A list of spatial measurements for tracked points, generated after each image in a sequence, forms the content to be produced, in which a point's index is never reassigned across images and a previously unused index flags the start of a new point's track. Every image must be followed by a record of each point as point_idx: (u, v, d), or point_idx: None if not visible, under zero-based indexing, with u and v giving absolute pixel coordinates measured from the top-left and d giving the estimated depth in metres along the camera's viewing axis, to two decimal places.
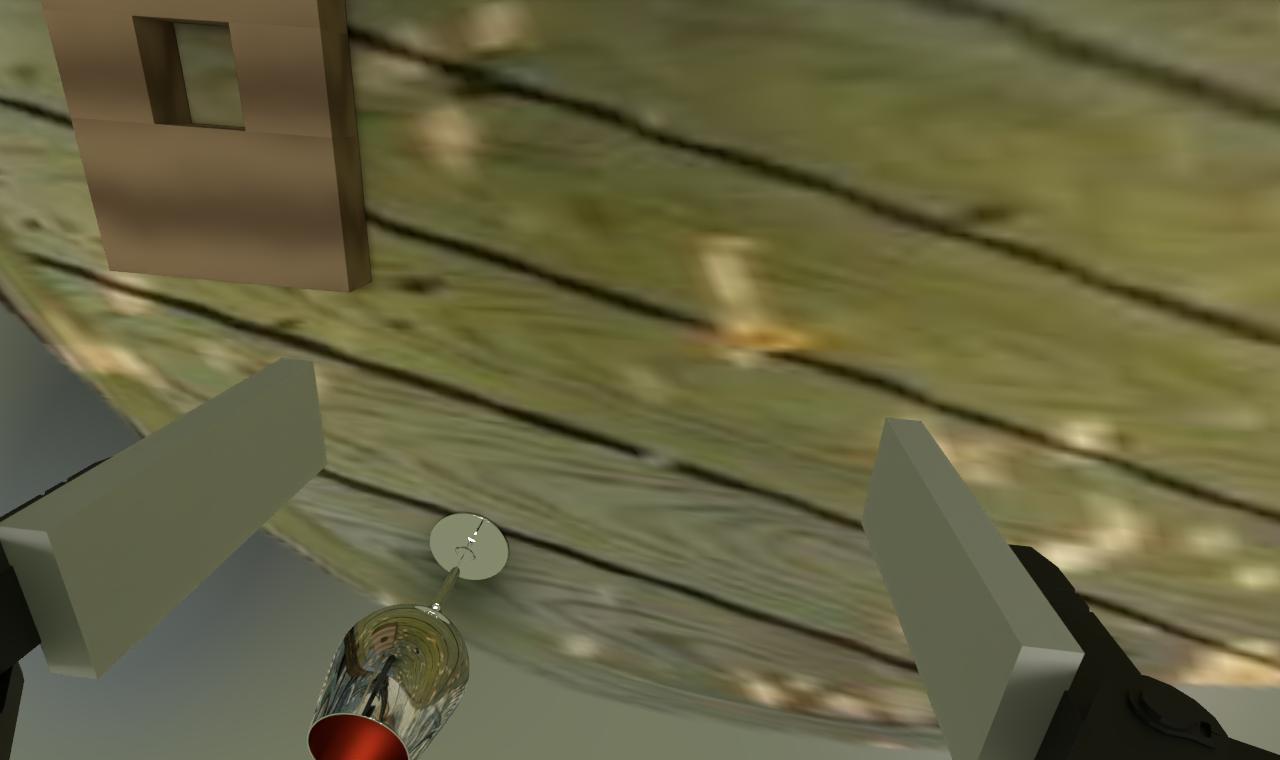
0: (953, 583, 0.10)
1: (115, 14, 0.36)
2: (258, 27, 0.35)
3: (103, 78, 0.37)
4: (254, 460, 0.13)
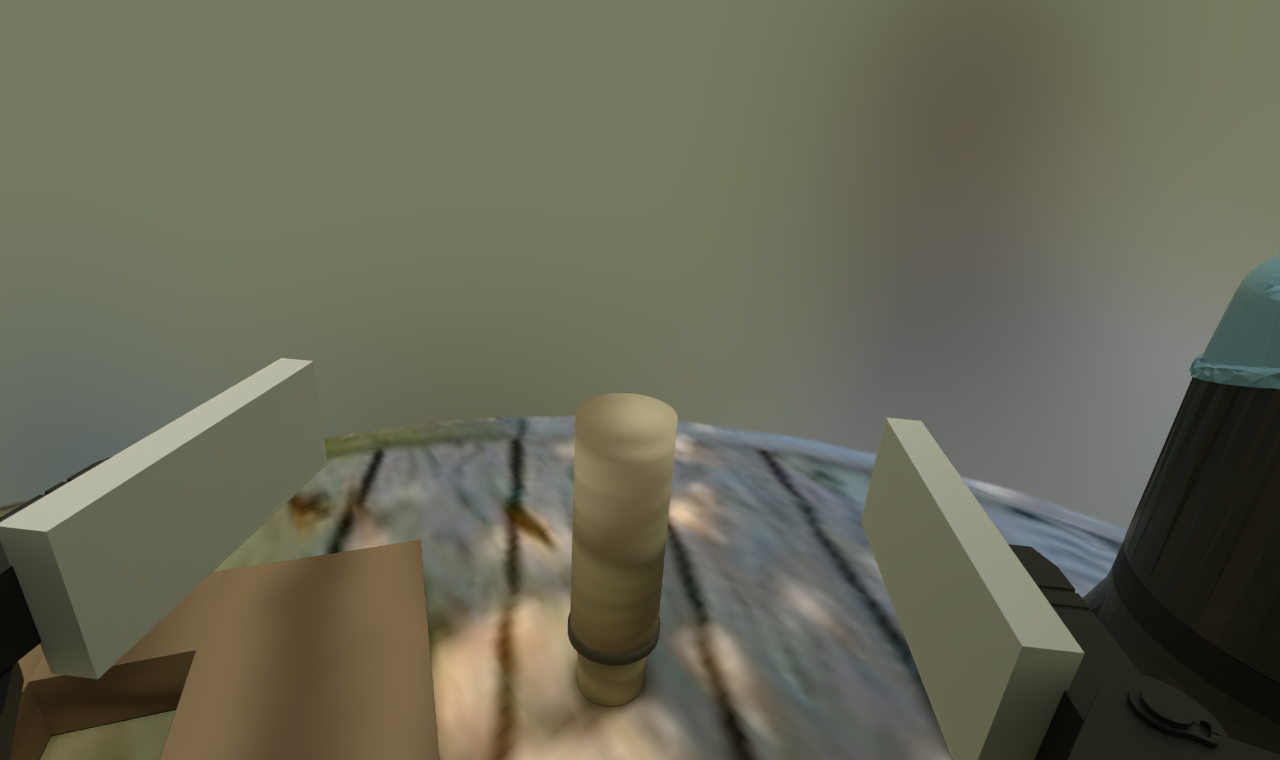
0: (953, 583, 0.10)
1: (201, 633, 0.28)
2: None
3: None
4: (254, 460, 0.13)
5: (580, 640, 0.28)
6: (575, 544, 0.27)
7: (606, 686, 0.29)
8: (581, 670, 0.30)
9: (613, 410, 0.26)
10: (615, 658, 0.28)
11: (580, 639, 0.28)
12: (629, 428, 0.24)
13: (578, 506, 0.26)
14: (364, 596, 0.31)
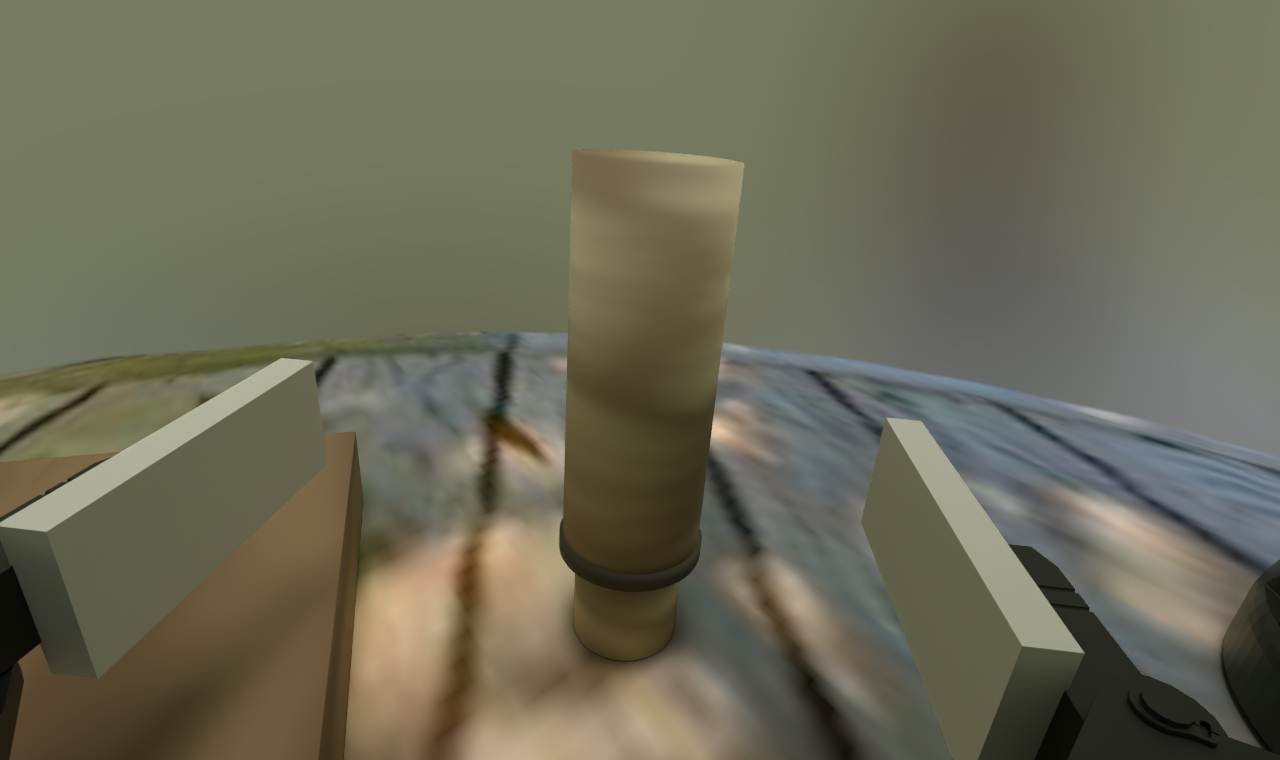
0: (953, 583, 0.10)
1: None
2: None
3: None
4: (254, 460, 0.13)
5: (578, 552, 0.18)
6: (571, 389, 0.17)
7: (618, 629, 0.19)
8: (579, 606, 0.19)
9: (635, 154, 0.15)
10: (633, 580, 0.17)
11: (577, 551, 0.18)
12: (665, 161, 0.14)
13: (576, 318, 0.16)
14: None
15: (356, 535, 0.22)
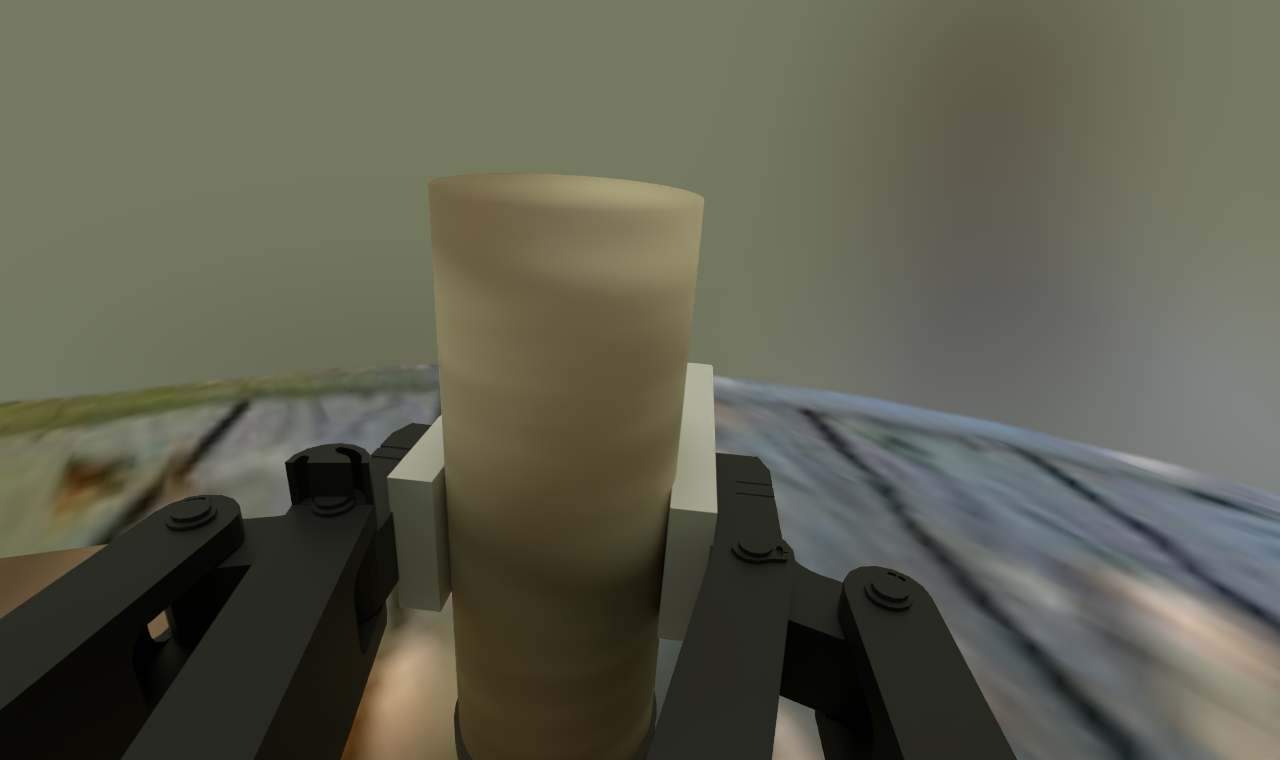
0: None
1: None
2: None
3: None
4: None
5: (473, 756, 0.12)
6: (449, 535, 0.11)
7: None
8: None
9: (536, 184, 0.10)
10: None
11: (472, 753, 0.12)
12: (571, 200, 0.08)
13: (447, 436, 0.10)
14: None
15: None
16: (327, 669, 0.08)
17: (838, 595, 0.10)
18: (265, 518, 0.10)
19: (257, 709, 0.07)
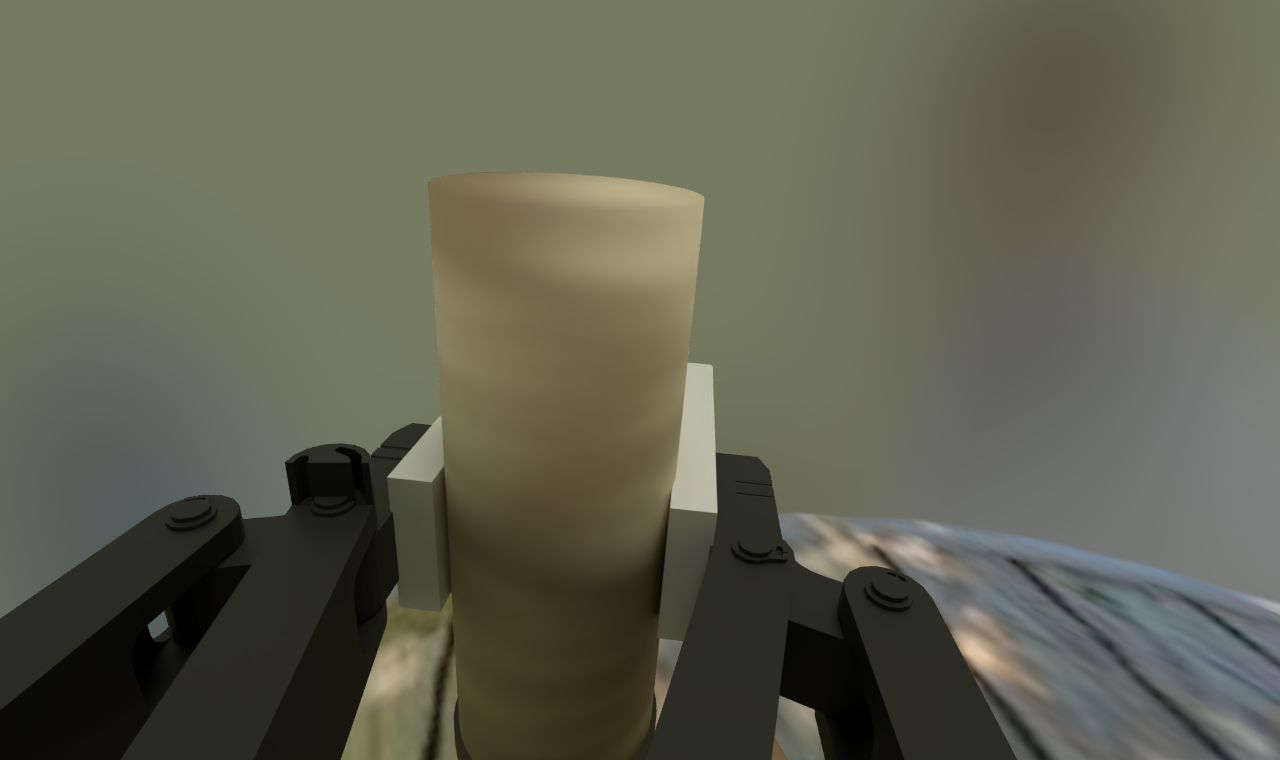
0: None
1: None
2: None
3: None
4: None
5: (473, 756, 0.12)
6: (449, 534, 0.11)
7: None
8: None
9: (536, 183, 0.10)
10: None
11: (472, 754, 0.12)
12: (571, 198, 0.08)
13: (447, 436, 0.10)
14: None
15: None
16: (327, 669, 0.08)
17: (838, 595, 0.10)
18: (265, 518, 0.10)
19: (258, 708, 0.07)
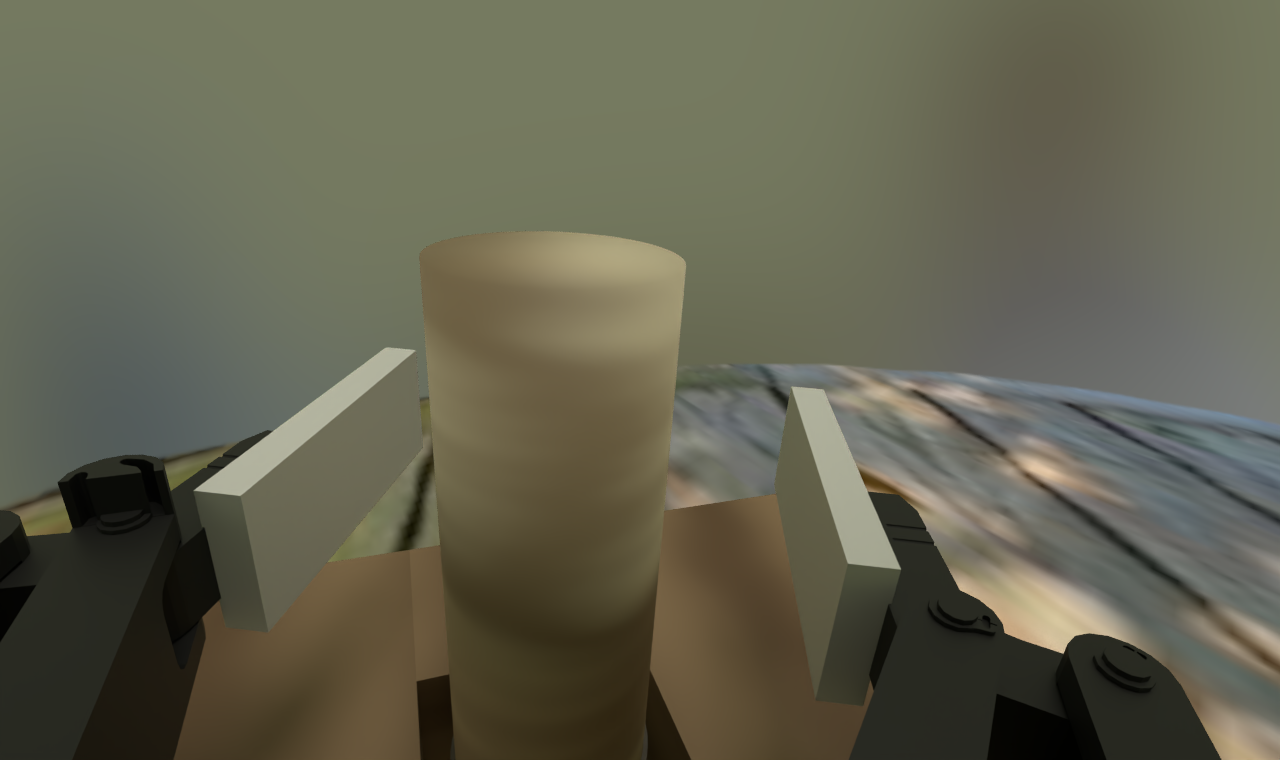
0: (817, 522, 0.11)
1: None
2: None
3: None
4: (374, 440, 0.14)
5: None
6: (443, 583, 0.11)
7: None
8: None
9: (524, 249, 0.10)
10: None
11: None
12: (555, 274, 0.09)
13: None
14: None
15: None
16: (141, 684, 0.08)
17: (1056, 660, 0.09)
18: (61, 535, 0.10)
19: (64, 727, 0.06)
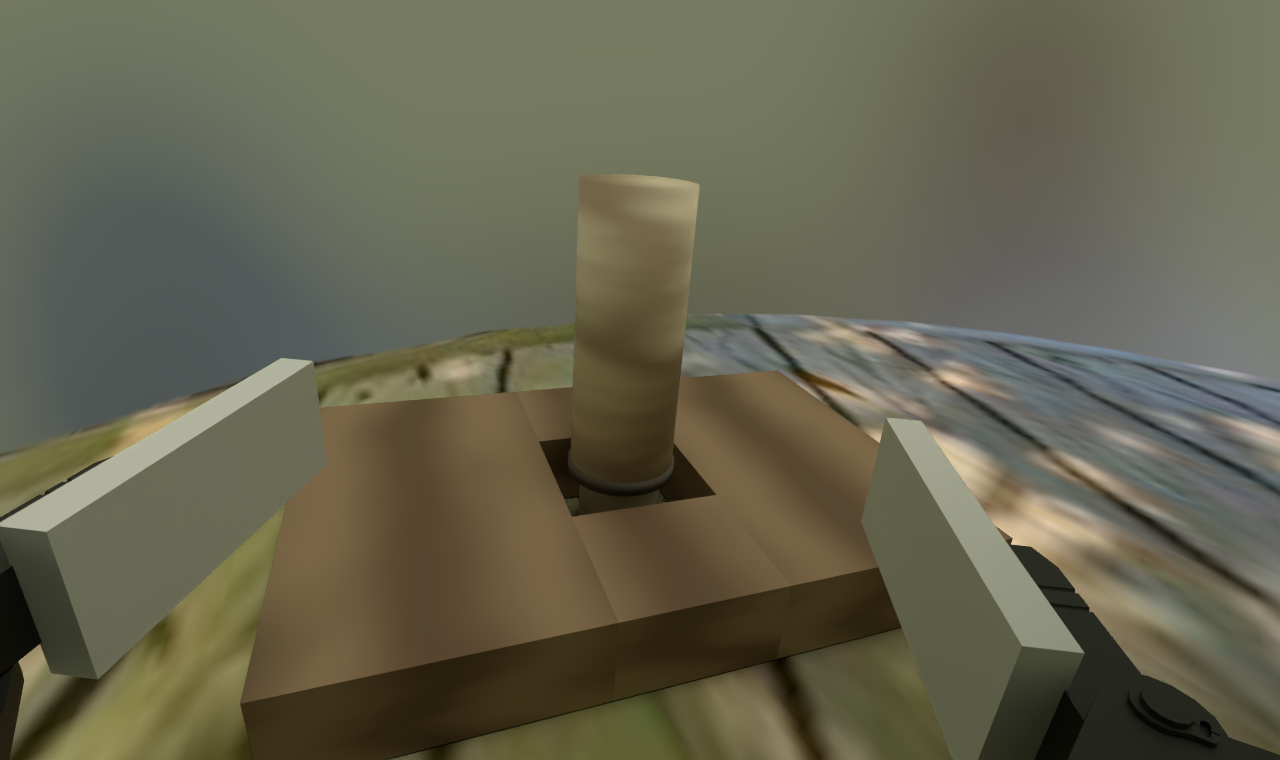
0: (953, 583, 0.10)
1: None
2: (733, 521, 0.23)
3: None
4: (254, 460, 0.13)
5: (583, 469, 0.24)
6: (577, 346, 0.23)
7: None
8: (582, 514, 0.26)
9: (623, 178, 0.22)
10: (623, 487, 0.24)
11: (582, 468, 0.24)
12: (644, 185, 0.20)
13: (581, 294, 0.22)
14: (769, 401, 0.33)
15: None
16: None
17: None
18: None
19: None
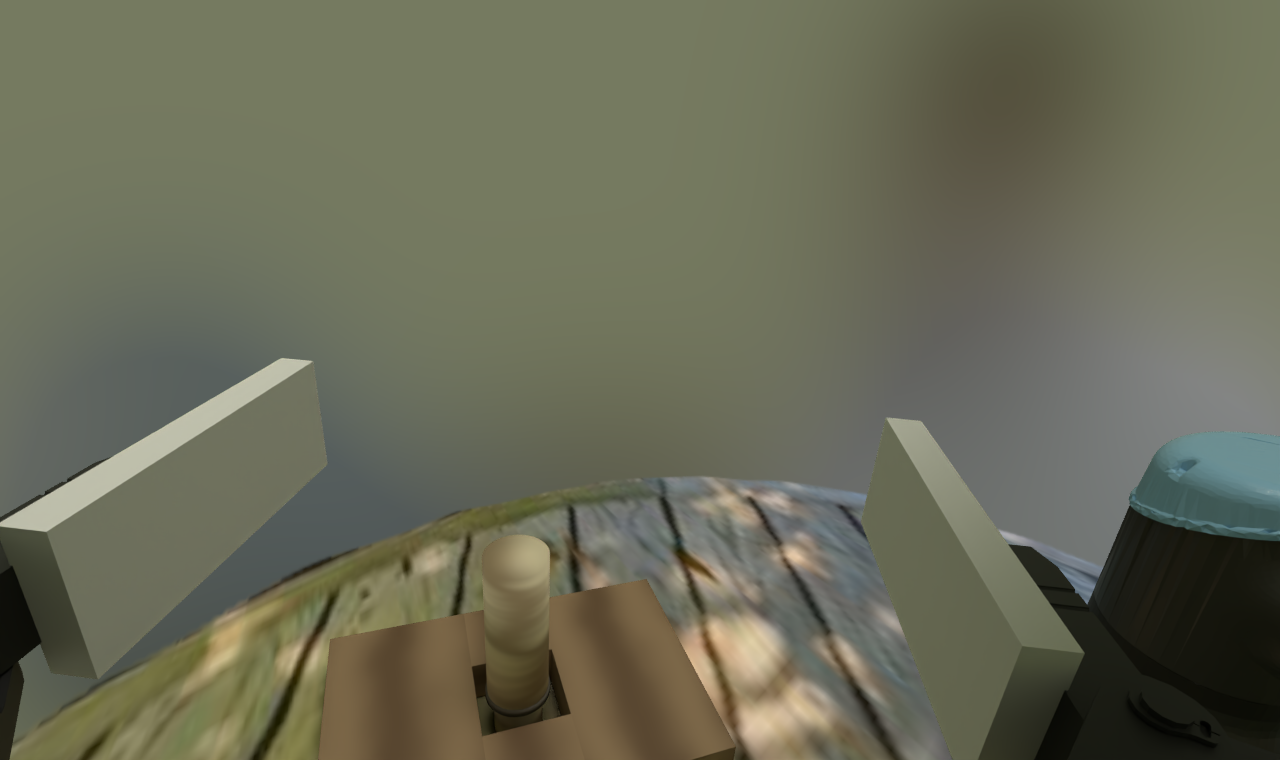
0: (953, 583, 0.10)
1: None
2: (575, 737, 0.40)
3: None
4: (254, 460, 0.13)
5: (492, 699, 0.41)
6: (485, 637, 0.40)
7: None
8: (495, 718, 0.43)
9: (508, 551, 0.39)
10: (514, 712, 0.41)
11: (491, 699, 0.41)
12: (514, 568, 0.38)
13: (485, 614, 0.39)
14: (630, 616, 0.50)
15: None
16: None
17: None
18: None
19: None
